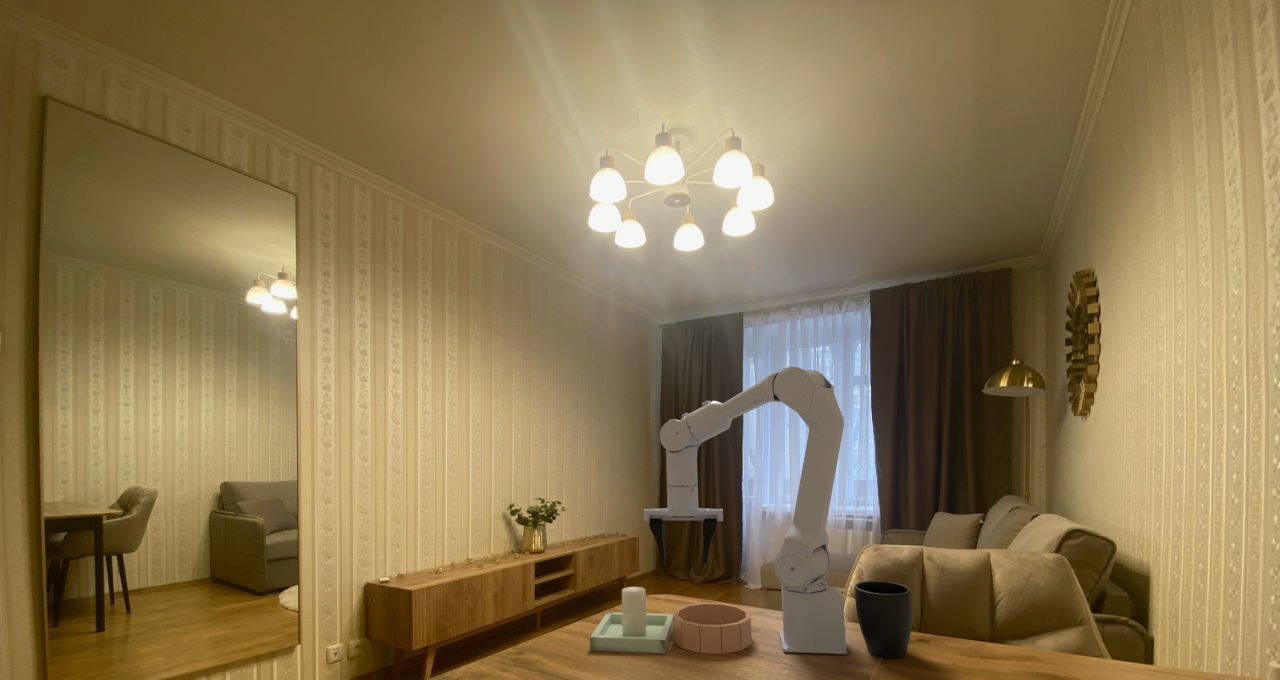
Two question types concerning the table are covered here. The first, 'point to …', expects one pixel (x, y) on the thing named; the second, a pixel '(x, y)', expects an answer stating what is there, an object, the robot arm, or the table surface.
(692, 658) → the table surface
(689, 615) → the segmented salmon ring
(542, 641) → the table surface
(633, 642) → the tray
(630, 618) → the peg
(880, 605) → the mug
